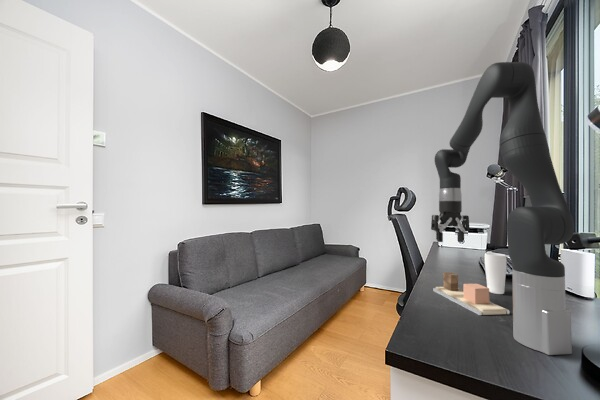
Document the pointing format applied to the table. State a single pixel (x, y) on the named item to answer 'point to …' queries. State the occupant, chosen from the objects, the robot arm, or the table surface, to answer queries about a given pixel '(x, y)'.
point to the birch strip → (453, 290)
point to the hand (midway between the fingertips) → (450, 241)
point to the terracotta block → (476, 293)
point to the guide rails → (462, 302)
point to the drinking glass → (495, 272)
